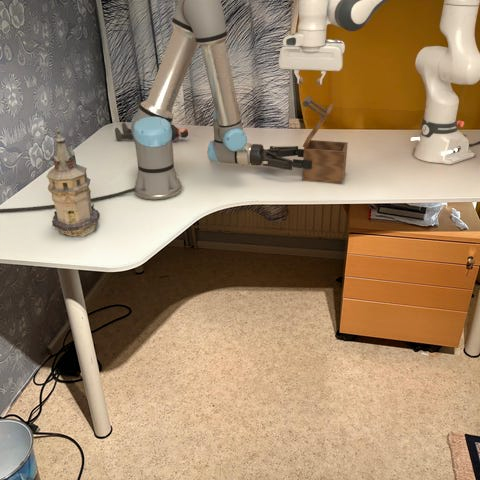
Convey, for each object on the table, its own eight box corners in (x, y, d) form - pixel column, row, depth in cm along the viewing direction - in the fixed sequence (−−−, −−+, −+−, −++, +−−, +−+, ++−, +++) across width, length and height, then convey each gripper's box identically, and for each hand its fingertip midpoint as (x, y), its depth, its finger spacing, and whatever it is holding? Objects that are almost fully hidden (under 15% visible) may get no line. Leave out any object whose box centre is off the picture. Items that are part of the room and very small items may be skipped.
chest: (345, 173, 189) (347, 142, 184) (342, 183, 181) (344, 152, 176) (307, 170, 193) (308, 139, 187) (302, 180, 185) (303, 149, 179)
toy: (130, 116, 235) (195, 116, 229) (132, 130, 238) (197, 130, 232) (105, 135, 213) (177, 135, 207) (108, 150, 216) (179, 151, 210)
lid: (333, 105, 179) (311, 90, 178) (329, 113, 171) (306, 97, 170) (309, 139, 187) (288, 124, 186) (305, 148, 179) (282, 132, 178)
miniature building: (80, 214, 164) (63, 117, 149) (111, 225, 157) (96, 125, 142) (44, 231, 154) (22, 130, 140) (75, 244, 147) (55, 139, 133)
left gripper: (258, 153, 201) (317, 158, 196) (243, 176, 182) (308, 181, 177) (258, 134, 197) (318, 138, 192) (243, 155, 179) (310, 160, 174)
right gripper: (346, 37, 166) (343, 82, 173) (281, 36, 171) (281, 80, 178) (344, 41, 161) (341, 87, 168) (277, 39, 166) (277, 84, 173)
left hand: (314, 159), depth 185 cm, fingers closed on chest, 10 cm apart
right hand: (309, 83), depth 173 cm, fingers open, 5 cm apart
